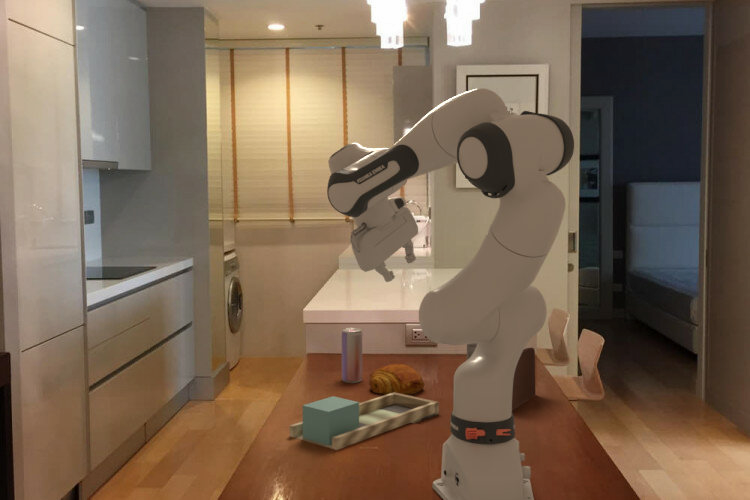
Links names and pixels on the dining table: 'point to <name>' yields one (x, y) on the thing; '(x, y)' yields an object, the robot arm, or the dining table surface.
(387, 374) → the croissant
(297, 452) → the dining table surface
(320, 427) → the teal block
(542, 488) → the dining table surface
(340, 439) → the trap lane
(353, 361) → the beverage can
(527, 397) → the letter holder
